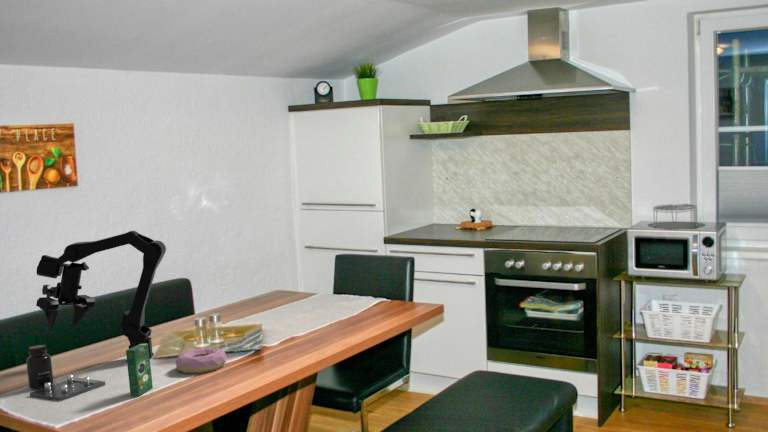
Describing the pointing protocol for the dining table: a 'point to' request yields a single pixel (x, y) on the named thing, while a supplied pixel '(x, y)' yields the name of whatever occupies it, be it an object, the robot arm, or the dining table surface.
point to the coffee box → (139, 369)
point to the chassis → (67, 388)
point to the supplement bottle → (39, 367)
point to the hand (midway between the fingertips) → (62, 328)
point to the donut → (201, 360)
